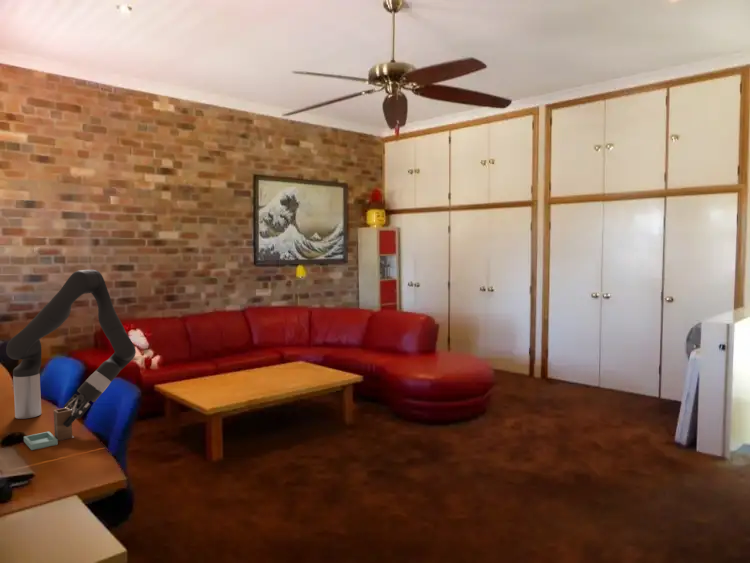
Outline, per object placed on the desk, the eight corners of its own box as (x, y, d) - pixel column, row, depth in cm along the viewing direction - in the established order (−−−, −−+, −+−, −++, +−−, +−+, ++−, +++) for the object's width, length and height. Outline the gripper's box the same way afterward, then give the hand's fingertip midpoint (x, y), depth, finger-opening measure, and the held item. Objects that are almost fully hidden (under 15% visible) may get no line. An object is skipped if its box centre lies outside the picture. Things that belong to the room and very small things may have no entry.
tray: (23, 443, 198) (23, 436, 197) (49, 437, 203) (49, 431, 203) (31, 452, 189) (31, 445, 189) (57, 446, 195) (57, 439, 194)
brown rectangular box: (54, 437, 202) (53, 410, 201) (68, 434, 205) (67, 407, 204) (58, 440, 199) (56, 412, 198) (72, 437, 202) (71, 410, 201)
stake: (52, 438, 202) (52, 422, 202) (69, 435, 206) (69, 419, 205) (57, 442, 198) (56, 426, 198) (74, 438, 202) (73, 422, 201)
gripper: (80, 377, 211) (48, 413, 204) (92, 384, 201) (58, 422, 194) (96, 388, 215) (64, 424, 208) (108, 395, 205) (75, 433, 198)
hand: (61, 423), depth 201 cm, fingers open, 8 cm apart
